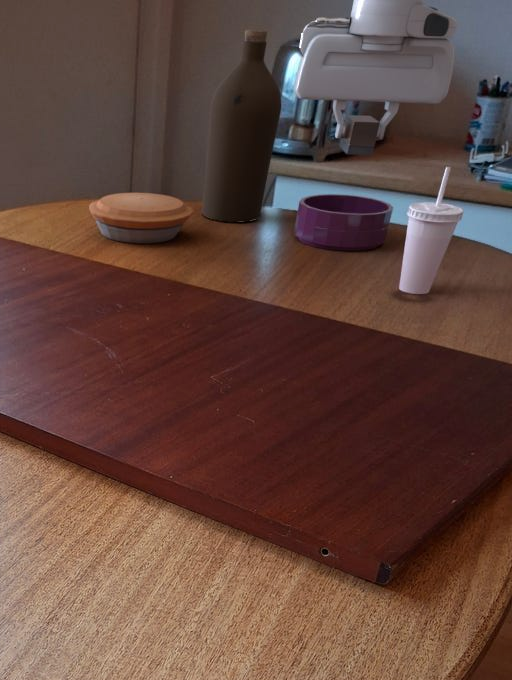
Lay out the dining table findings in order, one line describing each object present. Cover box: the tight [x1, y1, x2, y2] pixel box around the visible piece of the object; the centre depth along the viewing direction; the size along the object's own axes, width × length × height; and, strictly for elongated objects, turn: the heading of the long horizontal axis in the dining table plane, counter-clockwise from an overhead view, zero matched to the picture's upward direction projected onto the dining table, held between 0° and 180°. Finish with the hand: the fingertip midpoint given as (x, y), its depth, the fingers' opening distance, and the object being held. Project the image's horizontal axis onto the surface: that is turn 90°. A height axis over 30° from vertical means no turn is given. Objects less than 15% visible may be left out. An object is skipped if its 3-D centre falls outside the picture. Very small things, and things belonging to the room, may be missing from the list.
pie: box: [88, 192, 194, 245], centre depth 131 cm, size 15×16×5 cm
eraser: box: [338, 114, 380, 156], centre depth 123 cm, size 6×4×4 cm, turn 175°
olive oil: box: [201, 29, 282, 224], centre depth 135 cm, size 11×11×25 cm
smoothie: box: [398, 166, 464, 295], centre depth 108 cm, size 6×6×14 cm
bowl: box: [293, 193, 394, 252], centre depth 130 cm, size 13×13×5 cm
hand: (358, 138), depth 124 cm, fingers closed on eraser, 3 cm apart
